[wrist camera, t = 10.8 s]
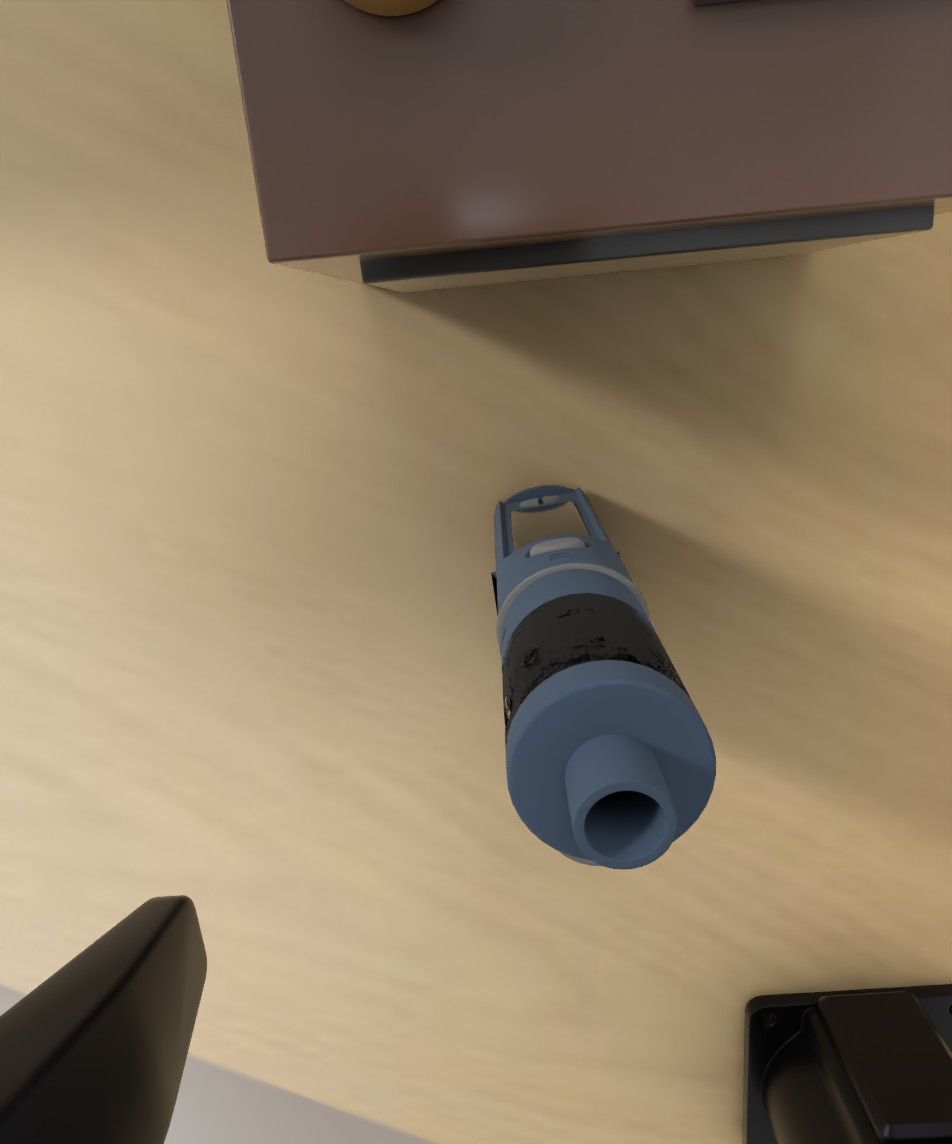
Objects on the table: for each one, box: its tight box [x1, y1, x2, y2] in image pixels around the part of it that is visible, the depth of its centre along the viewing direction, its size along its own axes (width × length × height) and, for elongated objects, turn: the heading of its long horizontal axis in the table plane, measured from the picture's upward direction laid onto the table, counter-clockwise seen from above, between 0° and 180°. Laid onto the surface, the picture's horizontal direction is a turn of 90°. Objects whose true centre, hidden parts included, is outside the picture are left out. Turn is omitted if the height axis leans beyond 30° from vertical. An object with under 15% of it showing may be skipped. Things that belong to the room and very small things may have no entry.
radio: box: [226, 0, 952, 292], centre depth 12 cm, size 6×10×9 cm, turn 95°
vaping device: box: [491, 486, 716, 869], centre depth 14 cm, size 3×5×12 cm, turn 10°
